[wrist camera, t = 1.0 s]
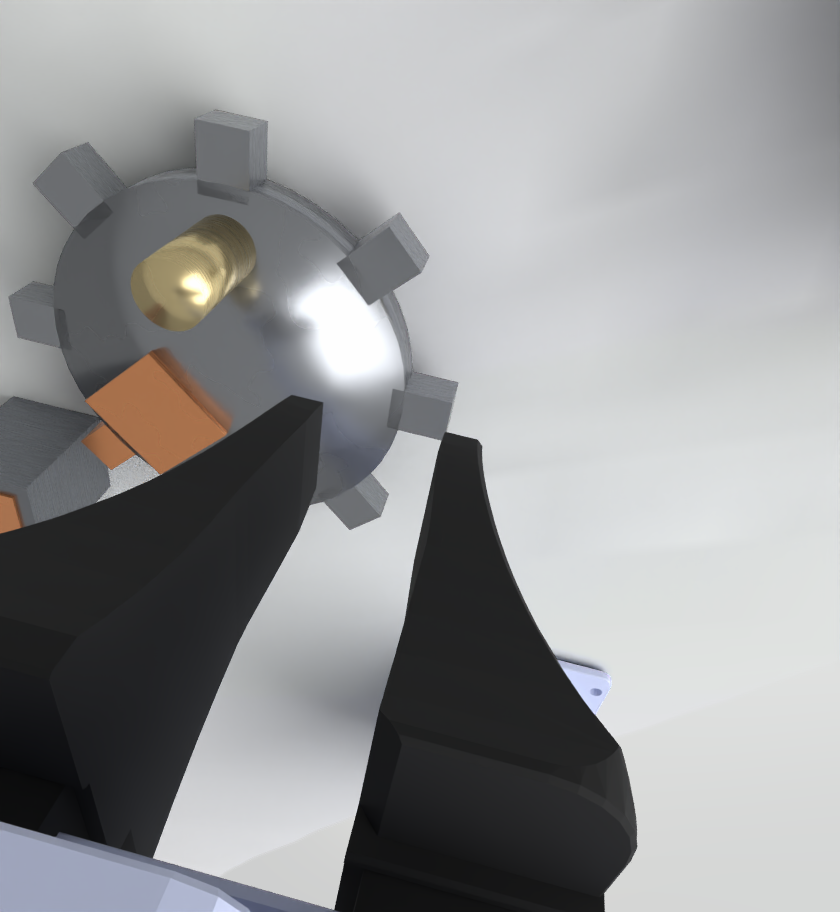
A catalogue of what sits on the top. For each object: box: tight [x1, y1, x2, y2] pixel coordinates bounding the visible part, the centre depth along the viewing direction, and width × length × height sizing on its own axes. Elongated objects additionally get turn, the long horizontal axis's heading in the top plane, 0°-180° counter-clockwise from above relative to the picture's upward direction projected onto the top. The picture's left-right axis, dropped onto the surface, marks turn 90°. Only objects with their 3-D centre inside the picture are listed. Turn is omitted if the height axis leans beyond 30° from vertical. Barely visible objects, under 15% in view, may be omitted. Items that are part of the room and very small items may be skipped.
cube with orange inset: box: [0, 396, 110, 533], centre depth 26 cm, size 4×4×4 cm
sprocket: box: [9, 110, 458, 530], centre depth 20 cm, size 14×14×4 cm
